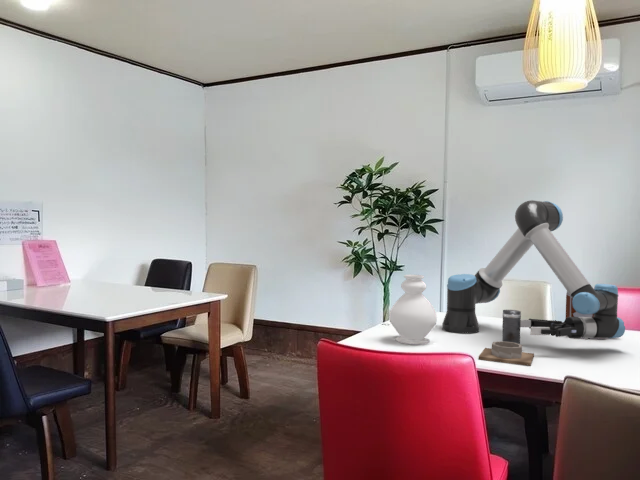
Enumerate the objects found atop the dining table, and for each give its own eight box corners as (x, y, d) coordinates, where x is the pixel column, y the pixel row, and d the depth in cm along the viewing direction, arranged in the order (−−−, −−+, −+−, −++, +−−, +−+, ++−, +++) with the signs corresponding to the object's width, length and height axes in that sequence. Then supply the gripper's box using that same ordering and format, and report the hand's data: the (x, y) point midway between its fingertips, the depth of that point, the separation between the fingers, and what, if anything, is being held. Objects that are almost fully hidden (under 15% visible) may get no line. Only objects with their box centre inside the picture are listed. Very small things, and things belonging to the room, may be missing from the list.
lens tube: (500, 350, 181) (501, 311, 181) (502, 347, 186) (503, 309, 186) (519, 352, 178) (520, 312, 178) (520, 349, 184) (521, 310, 183)
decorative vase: (380, 337, 200) (382, 273, 199) (419, 334, 206) (421, 273, 205) (404, 347, 183) (405, 278, 182) (445, 344, 189) (447, 277, 189)
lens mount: (478, 359, 168) (478, 345, 168) (485, 350, 181) (485, 337, 180) (530, 366, 161) (531, 351, 161) (533, 356, 173) (534, 343, 173)
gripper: (600, 345, 171) (538, 345, 169) (560, 330, 196) (506, 330, 194) (600, 323, 171) (539, 323, 169) (560, 311, 196) (506, 310, 194)
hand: (521, 327), depth 182 cm, fingers open, 13 cm apart
